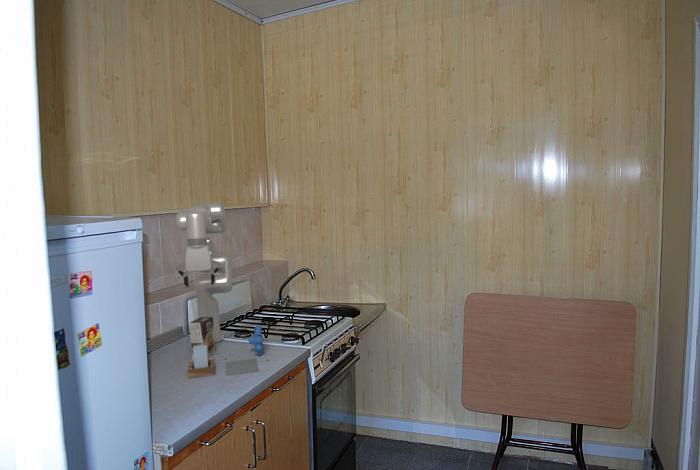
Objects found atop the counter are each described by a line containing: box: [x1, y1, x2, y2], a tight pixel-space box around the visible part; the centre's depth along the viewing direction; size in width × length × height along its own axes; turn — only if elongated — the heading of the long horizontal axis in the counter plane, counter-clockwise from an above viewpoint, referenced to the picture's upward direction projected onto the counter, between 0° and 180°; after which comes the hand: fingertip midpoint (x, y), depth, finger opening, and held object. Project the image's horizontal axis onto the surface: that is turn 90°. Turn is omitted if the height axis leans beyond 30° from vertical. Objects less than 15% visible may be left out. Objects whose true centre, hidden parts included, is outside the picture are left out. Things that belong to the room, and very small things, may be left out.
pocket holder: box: [187, 358, 216, 380], centre depth 185 cm, size 10×10×3 cm
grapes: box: [248, 324, 265, 356], centre depth 204 cm, size 12×7×12 cm, turn 12°
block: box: [193, 345, 209, 369], centre depth 185 cm, size 5×5×10 cm
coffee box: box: [189, 317, 216, 361], centre depth 203 cm, size 9×6×16 cm
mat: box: [225, 357, 259, 377], centre depth 189 cm, size 14×12×1 cm
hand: (200, 285), depth 191 cm, fingers open, 9 cm apart
